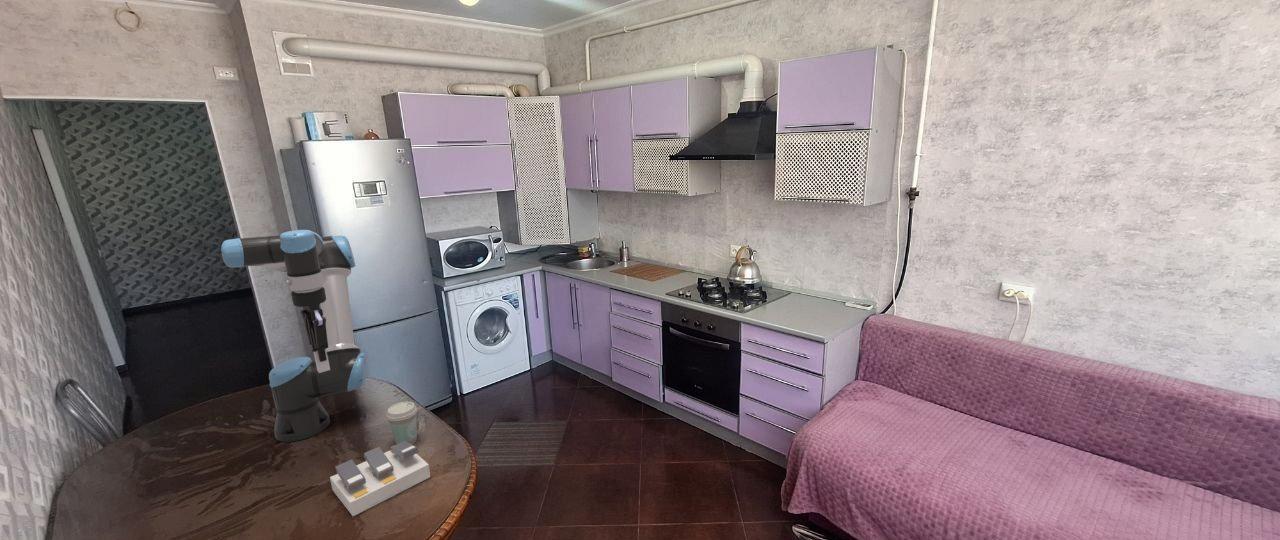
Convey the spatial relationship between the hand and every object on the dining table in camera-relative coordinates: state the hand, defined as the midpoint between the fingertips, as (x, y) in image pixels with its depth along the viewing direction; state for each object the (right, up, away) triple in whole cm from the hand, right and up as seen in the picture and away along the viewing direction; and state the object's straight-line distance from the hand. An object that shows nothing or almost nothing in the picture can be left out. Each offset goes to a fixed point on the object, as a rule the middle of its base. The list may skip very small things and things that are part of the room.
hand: (323, 370), depth 140 cm
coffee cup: (+15, -26, +17) cm, 34 cm away
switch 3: (+22, -23, +2) cm, 32 cm away
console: (+17, -30, -2) cm, 35 cm away
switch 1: (+12, -26, -8) cm, 30 cm away
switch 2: (+17, -25, -3) cm, 30 cm away
